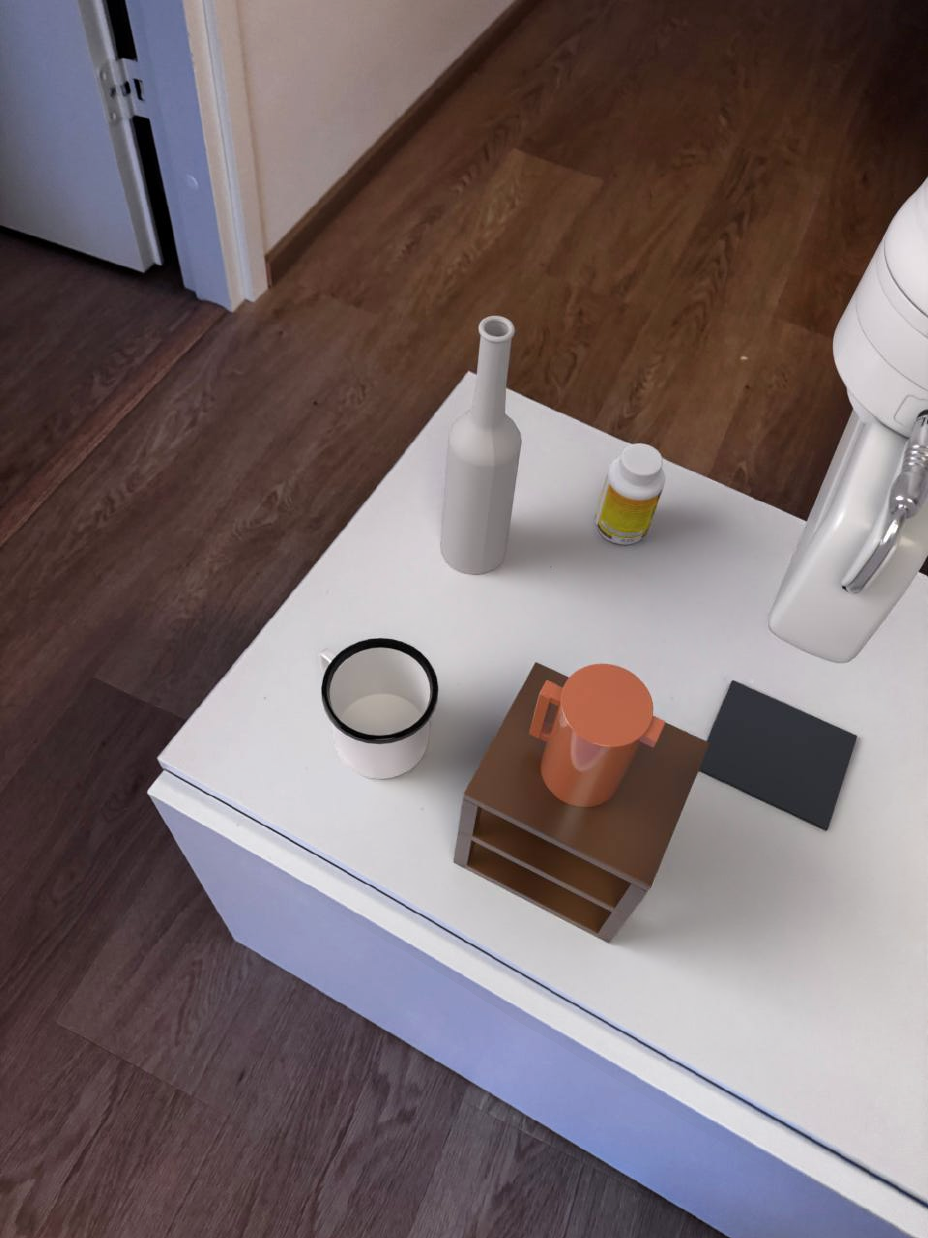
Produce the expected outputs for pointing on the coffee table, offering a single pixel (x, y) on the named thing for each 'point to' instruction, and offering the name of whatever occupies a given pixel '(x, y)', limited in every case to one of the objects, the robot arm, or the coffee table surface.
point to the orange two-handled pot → (593, 732)
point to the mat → (778, 754)
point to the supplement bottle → (630, 494)
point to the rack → (572, 821)
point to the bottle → (482, 462)
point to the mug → (379, 705)
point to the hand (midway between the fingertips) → (821, 552)
